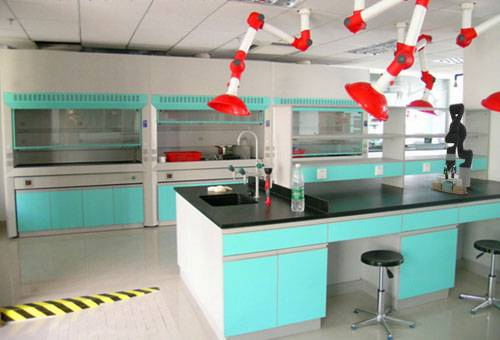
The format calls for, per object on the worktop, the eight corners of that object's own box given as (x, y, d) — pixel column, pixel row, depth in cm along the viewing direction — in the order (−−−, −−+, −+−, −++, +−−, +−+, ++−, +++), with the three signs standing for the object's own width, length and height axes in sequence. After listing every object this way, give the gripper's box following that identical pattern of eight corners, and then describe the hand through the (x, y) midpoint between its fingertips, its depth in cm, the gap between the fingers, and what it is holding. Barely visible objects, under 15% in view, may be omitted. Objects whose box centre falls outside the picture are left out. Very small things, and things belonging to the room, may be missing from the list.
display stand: (436, 188, 364) (437, 178, 362) (467, 193, 341) (468, 182, 340) (430, 189, 359) (431, 178, 358) (461, 194, 337) (462, 183, 336)
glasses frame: (438, 182, 359) (439, 176, 358) (461, 185, 342) (462, 179, 341) (436, 182, 357) (437, 176, 356) (459, 186, 340) (460, 179, 340)
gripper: (451, 158, 354) (450, 177, 356) (441, 159, 346) (440, 179, 348) (460, 159, 347) (458, 178, 350) (450, 160, 340) (448, 180, 342)
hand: (449, 178), depth 349 cm, fingers open, 8 cm apart
